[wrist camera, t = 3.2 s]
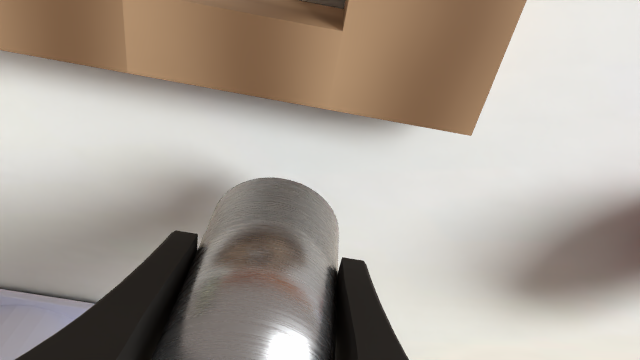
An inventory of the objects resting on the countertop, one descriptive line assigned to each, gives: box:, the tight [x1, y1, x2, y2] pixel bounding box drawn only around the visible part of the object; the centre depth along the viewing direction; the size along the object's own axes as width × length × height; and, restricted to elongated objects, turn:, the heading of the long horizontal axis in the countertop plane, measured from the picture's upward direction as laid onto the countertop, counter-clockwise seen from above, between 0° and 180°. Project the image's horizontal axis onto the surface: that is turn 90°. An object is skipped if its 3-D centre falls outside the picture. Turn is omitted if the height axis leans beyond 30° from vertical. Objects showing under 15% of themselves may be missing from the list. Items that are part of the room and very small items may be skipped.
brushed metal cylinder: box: [151, 178, 339, 360], centre depth 12 cm, size 4×4×6 cm
